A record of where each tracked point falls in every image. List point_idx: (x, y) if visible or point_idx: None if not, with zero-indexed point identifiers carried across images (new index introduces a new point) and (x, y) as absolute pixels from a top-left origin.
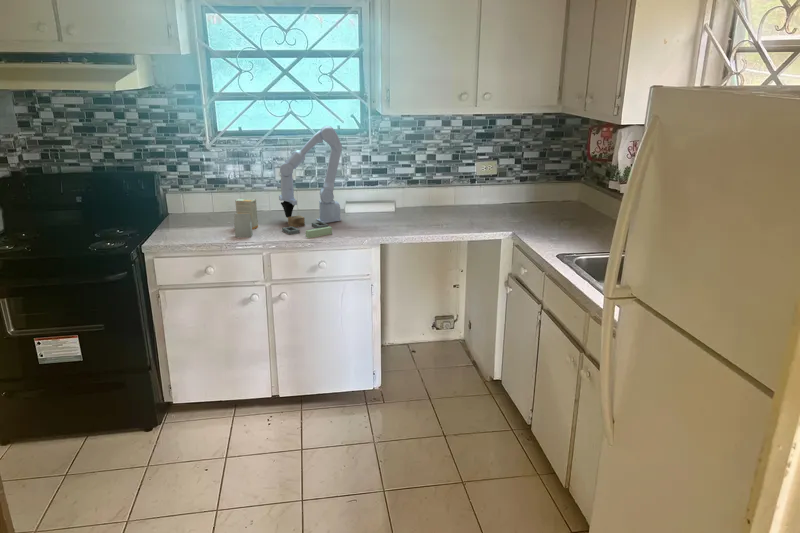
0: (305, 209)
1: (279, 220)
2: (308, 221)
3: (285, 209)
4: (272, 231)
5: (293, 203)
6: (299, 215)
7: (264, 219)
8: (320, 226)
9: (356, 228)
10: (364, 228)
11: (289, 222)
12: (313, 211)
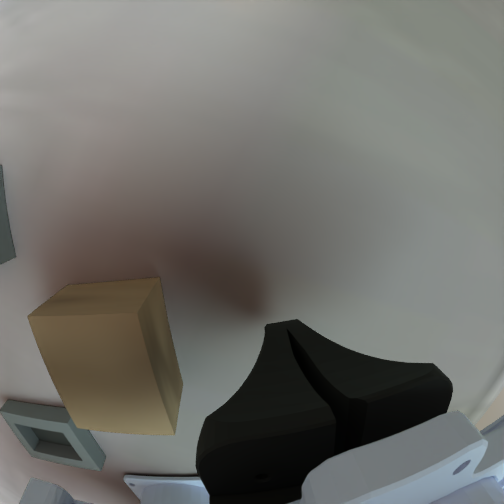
0: None
1: (371, 253)
2: None
3: (280, 369)
4: (29, 87)
5: (25, 500)
6: (169, 432)
7: (451, 147)
8: (4, 415)
9: None
10: None
11: (117, 291)
12: None
